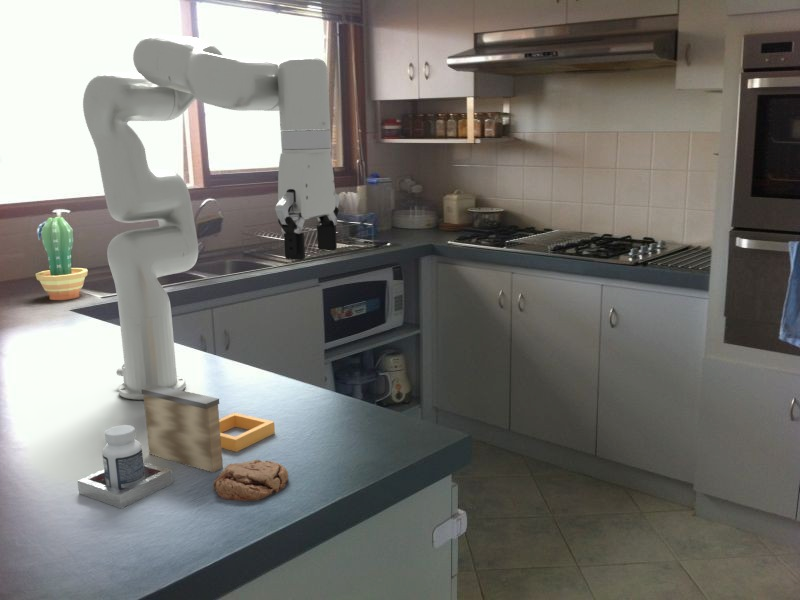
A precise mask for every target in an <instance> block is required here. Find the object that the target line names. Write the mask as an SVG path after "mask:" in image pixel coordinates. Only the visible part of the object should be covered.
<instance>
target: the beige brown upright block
mask: <svg viewBox="0 0 800 600" xmlns="http://www.w3.org/2000/svg"><path fill="white" fill-rule="evenodd" d="M141 391H142V394H143V395H144V400H143V402H144V403H143V404H144V413H145V423H146V433H147V443H148V454H149V455H150V454H152V455H151V456H154V455H155V456H154V457H157V456H158V457H159V458H161V457H162V459H164V458H165V459H164V460H168V461H171V462H175V461H176V462H175V463H178V462H179V463H178V464H181V463H182V464H183V465H185V464H186V465H185V466H188V465H189V466H188V467H192V466H193V467H192V468H195V467H196V469H199V468H200V469H199V470H202V469H204V470H203V471H206V470H207V471H206V472H209V471H210V473H213V472H214V473H215V472H218V471H219V470H221V469H224V465H223V453H222V452H223V451H222V448H221V437H220V424H219V419H220V413H219V411H220V410H219V405H220V398H217V397H213V396H210V395H209V396H208V395H204V394H199V393H195V392H190V391H187V390H186V391H185V390H177V389H173V388H168V387H164V386H159V385H152V386H149V387H146V388H143V389H141Z"/></svg>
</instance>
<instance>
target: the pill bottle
mask: <svg viewBox="0 0 800 600" xmlns="http://www.w3.org/2000/svg"><path fill="white" fill-rule="evenodd" d="M104 440H105V442H106V443H107V444H106V445H105V446H103V449H102V462H103V469H104V472H105V480H106V485H107V486H110V487H113V488H116V489H119V490H123V489H125V488H127V487H129V486H131V485H133V484H135V483H137V482H140V481H142V480H144V479H145V473H144V464H143V462H144V454H143V448H142V444H141V442H140V441H138V440H137V439H136V429H135V426H133V425H129V424H123V425H122V424H121V425H115V426H112V427H109V428H107V429H106V430H105V431H104Z"/></svg>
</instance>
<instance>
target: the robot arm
mask: <svg viewBox="0 0 800 600" xmlns="http://www.w3.org/2000/svg"><path fill="white" fill-rule="evenodd" d="M132 59H133V64H134V67H135V69H136V71H137V72H138V73H137V72H122V71H121V72H120V71H119V72H107V73H102V74H100V75H97V76H94V77H93V78H92V79H90V80H89V82H88V84H87V85H86V88H85V89H84V93H83V98H82V108H83V109H82V111H83V115H84V120H85V124H86V127H87V128H88V132H89V134H90V136H91V139H92V142H93V144H94V147H95V151H96V154H97V158H98V159H97V160H98V166H99V170H100V171H99V172H100V176H101V183H102V186H103V187H102V188H103V193H104V198H105V202H106V207H107V210H108V213H109V215H110V217H111V218H112V219H113V220H115V221H117V222H118V223H130V224H131V223H139V222H149V221H156V220H157V224H158V226H156V227H144V228H137V229H131V230H127V231H124V232H121V233H118V234H117V235H115V236H114V237H113V238H112V239H111V240H110V242H109V243H108V246H107V249H106V252H107V253H106V255H107V262H108V265H109V268H110V272H111V274H112V275H111V276H112V279H113V282H114V286H115V291H116V299H117V306H118V315H119V316H118V317H119V323H120V335H121V344H122V345H121V346H122V353H123V361H124V363H123V364H122V366H121V368H118V369H117V370H116V375H117V376H120V377H123V383H122V384H120V385H119V386H118V395H119V396H120V397H122V398H124V399H128V400H134V401H135V400H138V401H141V400H142V401H144V395H143V394H142V391H141V389H143V388H146V387H149V386H152V385H159V386H164V387H168V388H173V389H177V390H182V391H184V390H185V388H186V386H187V384H186V379H185V378H184V377H183V376H179V375H177V374H178V373H177V364H176V354H175V353H176V351H175V342H174V341H175V339H174V329H173V318H172V309H171V307H172V306H171V301H170V297H169V295H168V293H167V291H166V290H165V288H164V287H163V286H162V284H161V283H160V282H159V280H158V278H161V277H164V276H169V275H173V274H180V273H184V272H187V271H189V270H190V269H192V268H193V267H194V266H195V265H196V263H197V260H198V258H199V241H198V236H197V235H198V234H197V230H196V225H195V224H196V223H195V217H194V212H193V206H192V199H191V196H190V195H191V194H190V191H189V188H188V186H187V183H186V182H185V180H184V179H183V178H182V177H181V176H180V175H179V174H178V173H177V172H175V171H173V170H170V169H152V170H151V169H150V168H149V165H148V159H147V155H146V154H147V153H146V149H145V146H144V144H143V142H142V140H141V138H140V137H139V136H138V134H137V132H135V130H134V129H133V128H132V127H131V126H130V125H129V124H128V122H154V121H155V122H166V121H172V120H175V119H177V118H179V117H180V116H181V115H182V114H183V113H185V112H186V111H187V110H188V109H189V107H190V106H191V105H192V104H194V102H195V101H196V100H197V101H199V102H201V103H202V104H207V105H211V106H215V107H219V108H222V109H227V110H232V111H243V112H244V111H266V112H269V111H271V112H274V111H275V112H278V113H279V124H280V125H279V127H280V128H279V129H280V143H281V153H280V154H279V162H278V175H277V180H278V181H277V183H278V184H277V195H278V196H277V200H278V202H277V204H276V205H275V207H274V211H275V212H276V213H275V214H276V216H277V218H278V220H277V221H278V224H279V225H280V228H281V233H282V234H283V239H284V241H283V242H284V257H285V259H286V260H295V261H296V260H297V261H299V260H300V261H303V260H305V259H306V249H305V245H306V244H305V233H304V232H302V230H303V226H304V224H305V222H306V220H311V219H317V221H318V224H317V225H316V230H317V231H316V235H317V249H318V250H320V251H336V250H337V248H338V246H337V245H338V244H337V224H338V218H337V217H338V214H339V206H340V205H339V204H340V199H341V197H340V195H339V194H338V193H337V192H336V189H335V175H334V169H333V168H334V167H333V162H332V155H331V152H332V140H331V138H332V137H331V135H332V134H331V116H330V115H331V112H330V93H329V90H330V89H329V73H328V66H327V63H326V61H324V60H323V59H321V58H317V57H289V58H285V59H283V60H281V61H274V60H266V59H265V60H263V59H250V58H236V57H229V56H228V57H227V56H223V53H222V52H221V51H220V50H219V49H218V48H217V47H216V46H214V45H212V44H210V43H208V42H207V41H206V40H203V39H201V38H198V37H193V36H185V35H184V36H181V35H170V34H152V35H148V36H146V37H144V38H143V39H141V40H140V41H139V42H138V43H137V44H136V46H135V48H134V50H133V54H132ZM295 221H296V222H295Z"/></svg>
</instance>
